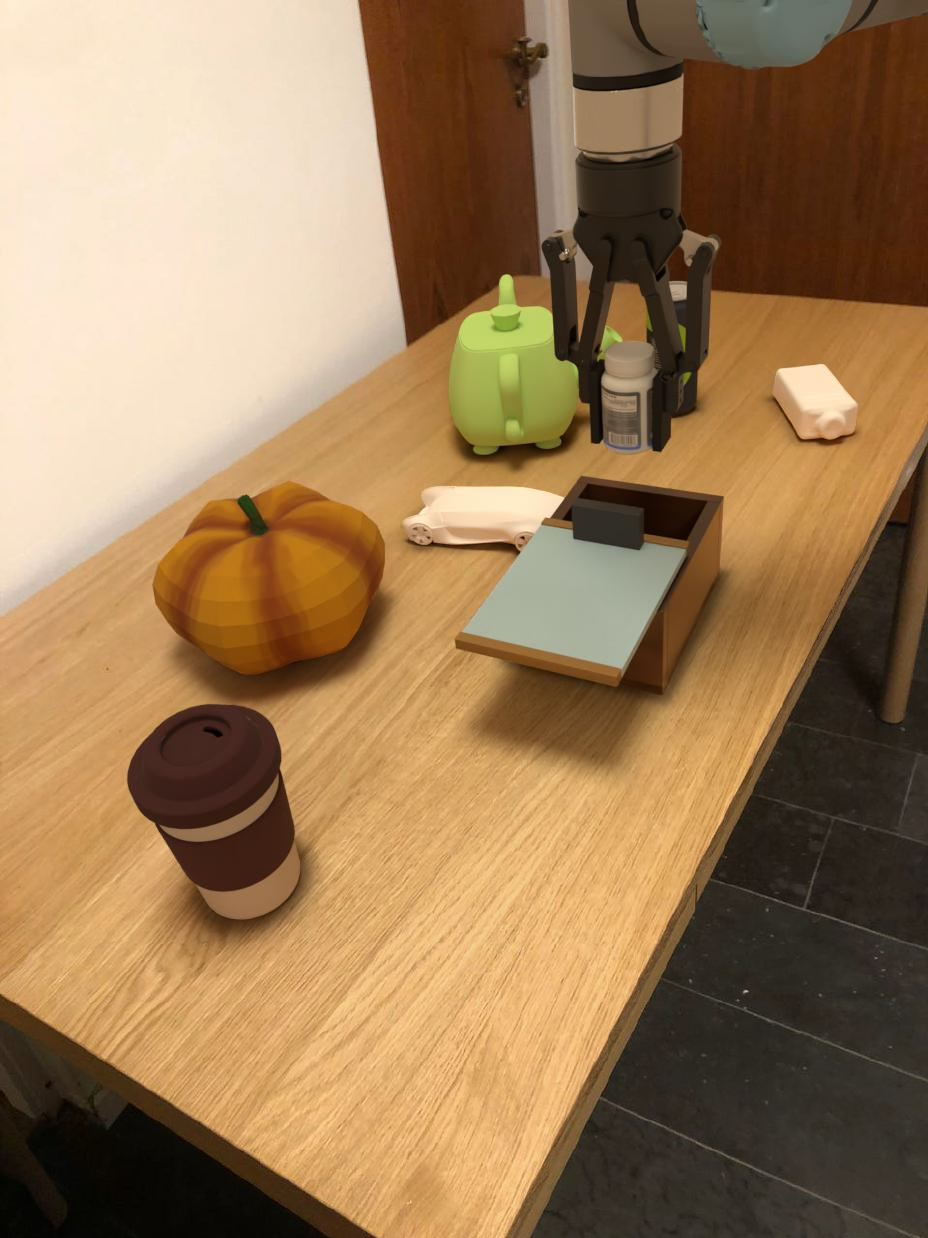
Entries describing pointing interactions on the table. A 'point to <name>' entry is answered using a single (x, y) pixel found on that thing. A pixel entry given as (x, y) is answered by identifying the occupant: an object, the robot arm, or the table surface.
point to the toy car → (480, 515)
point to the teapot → (512, 377)
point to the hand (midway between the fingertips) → (630, 439)
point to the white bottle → (815, 402)
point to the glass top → (578, 594)
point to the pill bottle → (628, 397)
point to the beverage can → (690, 379)
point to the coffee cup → (221, 805)
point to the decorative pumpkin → (271, 578)
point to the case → (694, 580)
